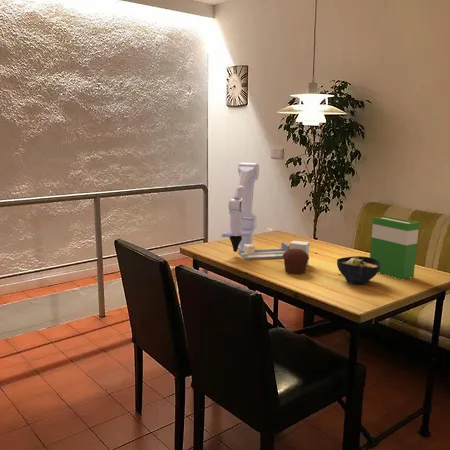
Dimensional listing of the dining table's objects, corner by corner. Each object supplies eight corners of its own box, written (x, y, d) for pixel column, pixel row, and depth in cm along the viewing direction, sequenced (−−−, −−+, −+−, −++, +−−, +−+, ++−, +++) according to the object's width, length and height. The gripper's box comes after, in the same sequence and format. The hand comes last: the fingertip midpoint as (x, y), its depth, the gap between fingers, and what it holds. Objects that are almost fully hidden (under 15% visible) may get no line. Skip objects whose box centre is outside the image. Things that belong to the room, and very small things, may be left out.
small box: (308, 264, 221) (309, 242, 219) (305, 267, 216) (306, 244, 214) (291, 262, 224) (293, 240, 222) (288, 265, 219) (289, 242, 217)
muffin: (307, 268, 214) (308, 247, 212) (309, 276, 203) (310, 253, 202) (280, 267, 215) (281, 245, 213) (281, 274, 204) (282, 252, 202)
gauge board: (238, 253, 238) (238, 243, 237) (283, 251, 244) (284, 242, 243) (245, 259, 226) (245, 249, 225) (292, 257, 232) (293, 247, 231)
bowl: (386, 282, 197) (388, 259, 195) (364, 291, 185) (366, 266, 183) (349, 273, 209) (351, 250, 207) (327, 280, 197) (329, 257, 195)
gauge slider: (243, 252, 236) (243, 243, 235) (251, 251, 237) (251, 243, 236) (248, 256, 229) (248, 247, 228) (255, 255, 230) (256, 247, 229)
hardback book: (368, 269, 215) (373, 217, 210) (379, 267, 219) (384, 215, 214) (402, 280, 201) (408, 224, 196) (413, 277, 205) (419, 222, 200)
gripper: (223, 225, 224) (222, 253, 227) (252, 225, 228) (251, 252, 230) (219, 223, 231) (219, 250, 233) (248, 222, 234) (247, 249, 237)
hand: (235, 251), depth 232 cm, fingers closed
